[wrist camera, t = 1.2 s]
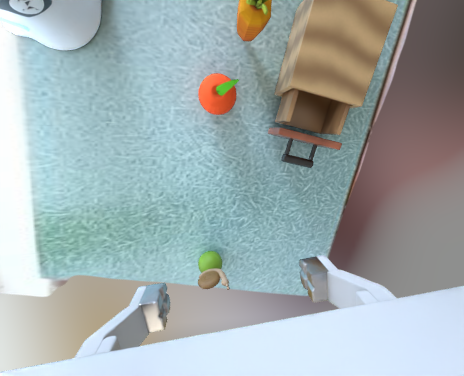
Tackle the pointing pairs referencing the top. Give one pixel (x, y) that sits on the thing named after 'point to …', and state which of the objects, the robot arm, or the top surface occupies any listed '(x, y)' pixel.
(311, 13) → the cabinet
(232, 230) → the top surface
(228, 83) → the clementine
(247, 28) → the carrot
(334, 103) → the drawer
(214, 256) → the green ball with rod
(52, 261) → the top surface
